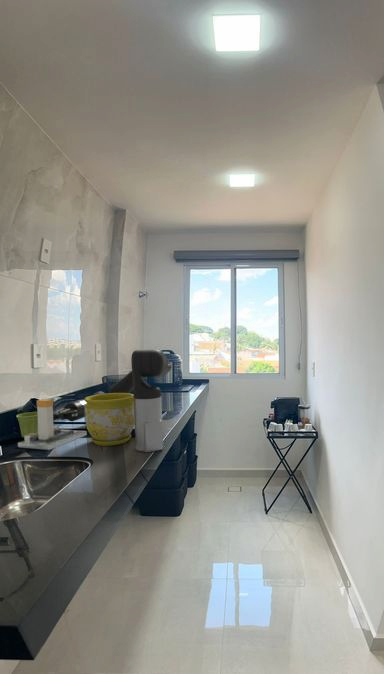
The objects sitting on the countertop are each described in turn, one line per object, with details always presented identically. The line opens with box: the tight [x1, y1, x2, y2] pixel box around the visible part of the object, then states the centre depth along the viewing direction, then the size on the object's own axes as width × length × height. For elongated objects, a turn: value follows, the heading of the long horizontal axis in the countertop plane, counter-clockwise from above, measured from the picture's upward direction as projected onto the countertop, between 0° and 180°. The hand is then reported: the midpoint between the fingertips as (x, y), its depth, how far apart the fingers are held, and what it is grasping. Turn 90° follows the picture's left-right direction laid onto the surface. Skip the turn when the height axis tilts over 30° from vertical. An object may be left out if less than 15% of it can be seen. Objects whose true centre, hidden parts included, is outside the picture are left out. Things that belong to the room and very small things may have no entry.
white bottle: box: [36, 398, 54, 440], centre depth 144 cm, size 5×3×14 cm
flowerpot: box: [84, 392, 135, 447], centre depth 144 cm, size 18×18×16 cm
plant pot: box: [16, 411, 38, 439], centre depth 157 cm, size 9×9×9 cm
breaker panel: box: [17, 425, 88, 451], centre depth 148 cm, size 14×21×4 cm, turn 158°
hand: (47, 418), depth 145 cm, fingers closed
